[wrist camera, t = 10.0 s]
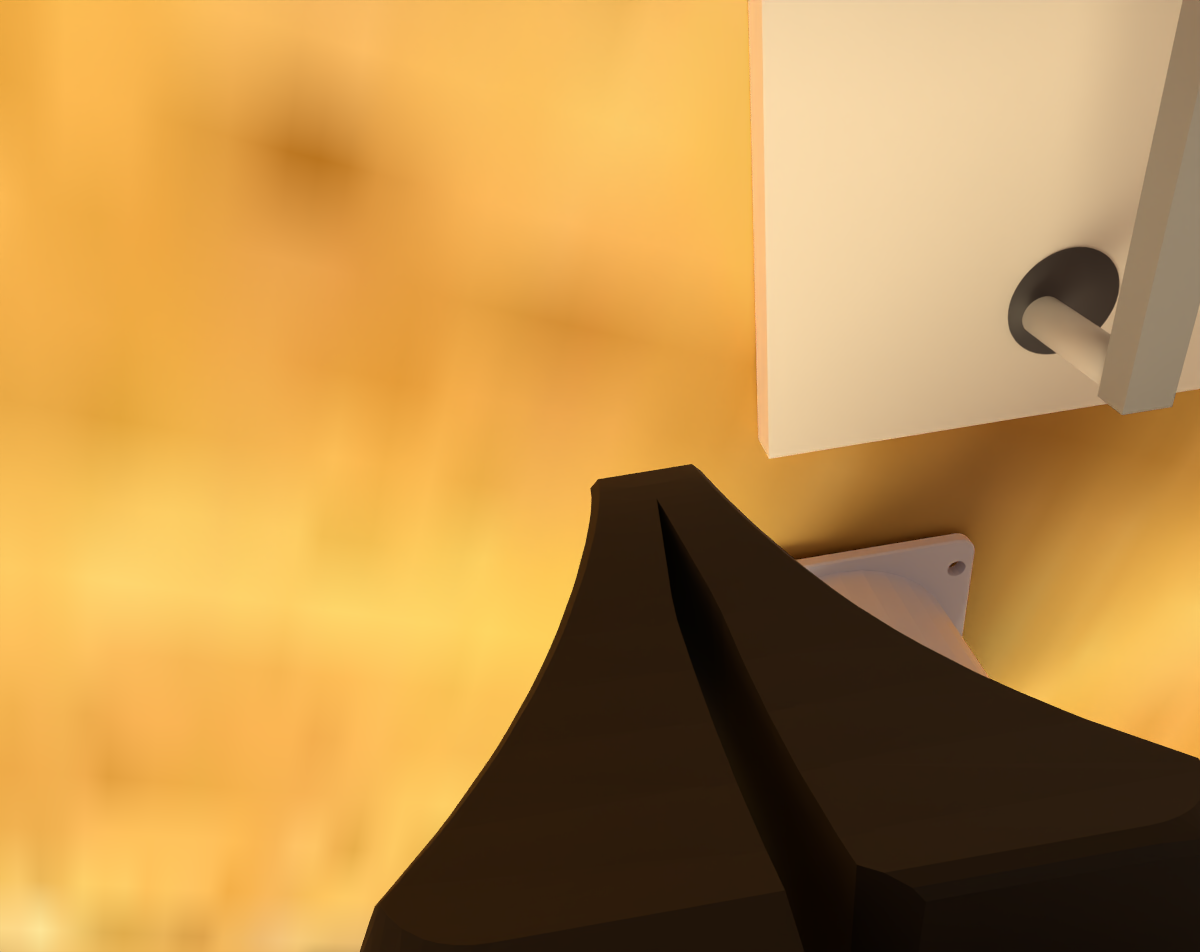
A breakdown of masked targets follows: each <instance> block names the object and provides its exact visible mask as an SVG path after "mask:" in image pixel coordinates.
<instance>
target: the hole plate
mask: <svg viewBox="0 0 1200 952" xmlns="http://www.w3.org/2000/svg"><path fill="white" fill-rule="evenodd" d="M1182 1H1183V0H748V12H749V56H750V99H751V143H752V187H753V231H754V274H755V318H756V362H757V406H758V439H759V441H760V443H761V445H762V447H763V449H764V450H765V452H766V454H767V456H768V458H769V459H770V458H776V457H783V456H789V455H795V454H801V453H807V452H813V451H819V450H826V449H832V448H838V447H844V446H850V445H856V444H863V443H869V442H875V441H881V440H887V439H893V438H900V437H906V436H912V435H918V434H924V433H930V432H937V431H943V430H949V429H955V428H961V427H967V426H973V425H980V424H986V423H992V422H998V421H1004V420H1010V419H1017V418H1023V417H1029V416H1035V415H1041V414H1047V413H1054V412H1060V411H1066V410H1072V409H1078V408H1084V407H1091V406H1097V405H1103V404H1107V403H1106V402H1104V401H1103V400H1102V399H1101V398H1099V397H1098V391H1099V386H1100V385H1098V384H1097V383H1096V382H1094V381H1093V380H1092V379H1090V378H1089V377H1088V376H1086V375H1085V374H1084V373H1082V372H1081V371H1080V370H1078V369H1077V368H1076V367H1074V366H1073V365H1072V364H1070V363H1069V362H1068V361H1066V360H1065V359H1064V358H1062V357H1061V356H1060V355H1058V354H1057V353H1056V352H1054V351H1053V350H1052V349H1050V348H1049V347H1048V346H1046V345H1045V344H1044V343H1042V342H1041V341H1040V340H1038V339H1037V338H1036V337H1034V336H1033V335H1032V334H1030V333H1029V332H1028V331H1026V330H1025V328H1024V327H1023V323H1022V318H1023V314H1024V312H1025V310H1026V309H1027V307H1028V306H1029V305H1030V304H1031V303H1032V302H1033V301H1035V300H1037V299H1038V298H1041V297H1045V296H1050V297H1054V298H1056V299H1057V300H1059V301H1060V302H1062V303H1063V304H1065V305H1067V306H1068V307H1070V308H1071V309H1073V310H1074V311H1076V312H1077V313H1079V314H1080V315H1082V316H1083V317H1085V318H1086V319H1088V320H1089V321H1091V322H1092V323H1094V324H1095V325H1097V326H1099V327H1100V328H1102V329H1103V330H1105V331H1106V332H1108V333H1109V334H1111V331H1112V326H1113V321H1114V317H1115V312H1116V307H1117V303H1118V298H1119V293H1120V289H1121V284H1122V280H1123V275H1124V270H1125V266H1126V261H1127V256H1128V252H1129V247H1130V242H1131V238H1132V233H1133V228H1134V224H1135V219H1136V214H1137V210H1138V205H1139V201H1140V196H1141V191H1142V187H1143V182H1144V177H1145V173H1146V168H1147V163H1148V159H1149V154H1150V149H1151V145H1152V140H1153V136H1154V131H1155V126H1156V122H1157V117H1158V112H1159V108H1160V103H1161V98H1162V94H1163V89H1164V84H1165V80H1166V75H1167V70H1168V66H1169V61H1170V57H1171V52H1172V47H1173V43H1174V38H1175V33H1176V29H1177V24H1178V19H1179V15H1180V10H1181V5H1182ZM1195 389H1200V305H1199V309H1198V313H1197V316H1196V320H1195V324H1194V328H1193V331H1192V335H1191V339H1190V342H1189V346H1188V350H1187V354H1186V357H1185V361H1184V365H1183V368H1182V372H1181V376H1180V380H1179V383H1178V387H1177V391H1176V393H1177V392H1183V391H1189V390H1195Z"/></svg>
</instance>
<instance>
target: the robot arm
mask: <svg viewBox="0 0 1200 952" xmlns="http://www.w3.org/2000/svg"><path fill="white" fill-rule="evenodd" d="M591 496H592V502H591V515H590V523H589V528H588V533H587V539H586V543H585V547H584V551H583V555H582V559H581V562H580V566H579V570H578V574H577V577H576V581H575V584H574V587H573V590H572V593H571V595H570V598H569V601H568V604H567V606H566V609H565V612H564V615H563V617H562V620H561V623H560V626H559V628H558V631H557V633H556V636H555V638H554V640H553V643H552V645H551V647H550V650H549V652H548V654H547V656H546V659H545V661H544V663H543V665H542V667H541V669H540V671H539V673H538V675H537V677H536V679H535V681H534V683H533V685H532V687H531V689H530V691H529V693H528V695H527V697H526V698H525V700H524V702H523V704H522V706H521V707H520V709H519V711H518V713H517V715H516V716H515V718H514V720H513V722H512V723H511V725H510V727H509V729H508V731H507V732H506V734H505V735H504V737H503V739H502V740H501V742H500V744H499V745H498V747H497V748H496V750H495V752H494V753H493V755H492V756H491V758H490V759H489V761H488V762H487V764H486V765H485V766H484V768H483V769H482V771H481V772H480V774H479V775H478V776H477V778H476V779H475V781H474V782H473V784H472V785H471V786H470V788H469V789H468V791H467V792H466V794H465V795H464V796H463V798H462V799H461V801H460V802H459V804H458V805H457V806H456V808H455V809H454V811H453V812H452V814H451V815H450V816H449V818H448V819H447V820H446V822H445V823H444V824H443V825H442V827H441V828H440V829H439V831H438V832H437V833H436V834H435V836H434V837H433V838H432V839H431V840H430V842H429V843H428V844H427V845H426V846H425V848H424V849H423V850H422V851H421V852H420V854H419V855H418V856H417V857H416V858H415V860H414V861H413V862H412V863H411V864H410V866H409V867H408V868H407V869H406V870H405V872H404V873H403V874H402V875H401V876H400V877H399V879H398V880H397V881H396V882H395V883H394V885H393V886H392V887H391V888H390V889H389V891H388V892H387V893H386V894H385V895H384V896H383V898H382V899H381V900H380V901H379V902H378V903H377V905H376V906H375V908H374V911H373V913H372V916H371V919H370V922H369V925H368V928H367V931H366V934H365V937H364V940H363V943H362V947H361V950H360V952H1200V760H1199V759H1198V758H1196V757H1193V756H1190V755H1188V754H1185V753H1182V752H1179V751H1176V750H1173V749H1170V748H1167V747H1165V746H1162V745H1159V744H1156V743H1153V742H1150V741H1147V740H1144V739H1141V738H1139V737H1136V736H1133V735H1130V734H1127V733H1124V732H1121V731H1118V730H1115V729H1113V728H1110V727H1107V726H1104V725H1101V724H1098V723H1095V722H1092V721H1089V720H1087V719H1084V718H1081V717H1079V716H1076V715H1074V714H1071V713H1069V712H1066V711H1064V710H1061V709H1059V708H1057V707H1054V706H1052V705H1049V704H1047V703H1045V702H1042V701H1040V700H1038V699H1035V698H1033V697H1030V696H1028V695H1026V694H1023V693H1021V692H1018V691H1016V690H1014V689H1011V688H1009V687H1007V686H1005V685H1003V684H1000V683H998V682H996V681H994V680H992V679H990V678H989V676H988V675H987V673H986V672H985V671H984V669H983V668H982V666H981V665H980V663H979V662H978V660H977V659H976V657H975V656H974V654H973V653H972V651H971V650H970V648H969V647H968V645H967V644H966V642H965V641H964V639H963V638H962V635H963V628H964V622H965V615H966V608H967V601H968V594H969V587H970V580H971V573H972V566H973V560H974V553H975V549H974V545H973V544H972V542H971V541H970V540H969V539H968V537H967V536H966V535H963V534H961V533H955V534H949V535H943V536H936V537H930V538H924V539H918V540H912V541H906V542H900V543H894V544H888V545H882V546H876V547H870V548H864V549H858V550H852V551H846V552H840V553H834V554H828V555H822V556H816V557H810V558H804V559H798V560H795V559H794V558H793V557H791V556H790V555H789V554H788V553H787V552H785V551H784V550H783V549H782V548H781V547H780V546H778V545H777V544H776V543H775V542H774V541H773V540H772V539H770V538H769V537H768V536H767V535H766V534H765V533H763V532H762V531H761V530H760V529H759V528H758V527H757V526H756V525H754V524H753V523H752V522H751V521H750V520H749V519H748V518H747V517H746V516H745V515H744V514H743V513H742V512H741V511H740V510H739V509H737V508H736V507H735V506H734V505H733V504H732V503H731V502H730V501H729V500H728V499H727V498H726V497H725V496H724V495H723V494H722V493H721V492H720V491H719V490H718V489H717V488H716V487H715V486H714V484H713V483H712V482H711V481H710V480H709V479H708V478H707V477H706V476H705V475H704V474H703V473H702V472H701V471H700V470H699V469H698V468H696V467H695V466H694V465H692V464H690V465H684V466H678V467H671V468H665V469H659V470H653V471H647V472H641V473H634V474H628V475H622V476H616V477H610V478H604V479H598V480H597V481H596V483H595V484H594V485H593V486H592V487H591ZM957 561H958V562H957ZM954 562H957V563H956V564H955V565H954V566H952V567H949V566H950V565H951V564H952V563H954Z"/></svg>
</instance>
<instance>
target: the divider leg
mask: <svg viewBox="0 0 1200 952" xmlns="http://www.w3.org/2000/svg"><path fill="white" fill-rule="evenodd" d="M1199 305H1200V0H1183V1H1182V5H1181V10H1180V15H1179V19H1178V24H1177V29H1176V33H1175V38H1174V43H1173V47H1172V52H1171V57H1170V61H1169V66H1168V70H1167V75H1166V80H1165V84H1164V89H1163V94H1162V98H1161V103H1160V108H1159V112H1158V117H1157V122H1156V126H1155V131H1154V136H1153V140H1152V145H1151V149H1150V154H1149V159H1148V163H1147V168H1146V173H1145V177H1144V182H1143V187H1142V191H1141V196H1140V201H1139V205H1138V210H1137V214H1136V219H1135V224H1134V228H1133V233H1132V238H1131V242H1130V247H1129V252H1128V256H1127V261H1126V266H1125V270H1124V275H1123V280H1122V284H1121V289H1120V293H1119V298H1118V303H1117V307H1116V312H1115V317H1114V321H1113V326H1112V331H1111V334H1109V333H1108V332H1106V331H1105V330H1103V329H1102V328H1100V327H1099V326H1097V325H1095V324H1094V323H1092V322H1091V321H1089V320H1088V319H1086V318H1085V317H1083V316H1082V315H1080V314H1079V313H1077V312H1076V311H1074V310H1073V309H1071V308H1070V307H1068V306H1067V305H1065V304H1063V303H1062V302H1060V301H1059V300H1057V299H1056V298H1054V297H1050V296H1045V297H1041V298H1038V299H1037V300H1035V301H1033V302H1032V303H1031V304H1030V305H1029V306H1028V307H1027V309H1026V310H1025V312H1024V314H1023V318H1022V323H1023V327H1024V328H1025V330H1026V331H1028V332H1029V333H1030V334H1032V335H1033V336H1034V337H1036V338H1037V339H1038V340H1040V341H1041V342H1042V343H1044V344H1045V345H1046V346H1048V347H1049V348H1050V349H1052V350H1053V351H1054V352H1056V353H1057V354H1058V355H1060V356H1061V357H1062V358H1064V359H1065V360H1066V361H1068V362H1069V363H1070V364H1072V365H1073V366H1074V367H1076V368H1077V369H1078V370H1080V371H1081V372H1082V373H1084V374H1085V375H1086V376H1088V377H1089V378H1090V379H1092V380H1093V381H1094V382H1096V383H1097V384H1098V385H1100V386H1099V391H1098V397H1099V398H1101V399H1102V400H1103V401H1104V402H1106V403H1107V404H1108V405H1110V406H1111V407H1112V408H1113V409H1115V410H1116V411H1117V412H1119V413H1120V414H1121V415H1125V414H1131V413H1137V412H1143V411H1150V410H1156V409H1162V408H1168V407H1172V406H1173V402H1174V398H1175V394H1176V391H1177V387H1178V383H1179V380H1180V376H1181V372H1182V368H1183V365H1184V361H1185V357H1186V354H1187V350H1188V346H1189V342H1190V339H1191V335H1192V331H1193V328H1194V324H1195V320H1196V316H1197V313H1198V309H1199Z"/></svg>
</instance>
